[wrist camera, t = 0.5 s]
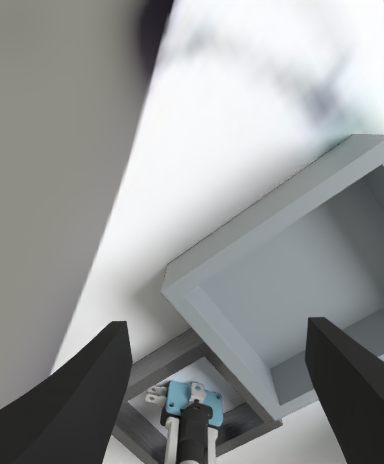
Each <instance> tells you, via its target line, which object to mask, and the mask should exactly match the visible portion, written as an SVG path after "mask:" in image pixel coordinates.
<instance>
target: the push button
mask: <svg viewBox="0 0 384 464" xmlns="http://www.w3.org/2000/svg"><path fill="white" fill-rule="evenodd" d="M196 386H198V387H199V388H197V387H196ZM152 388H155V389H156V390H155V391H152V390H151V389H152ZM147 392H150V393H154V394H157V395H158V396H156V395H152V394H149V393H148V394H147V395H146V398H145V401H147V402H151V403H155V404H157V406H160V407H163V408H162V413H161V419H160V423H161V425H162V426H165V428H166V429H168V438H167V446H166V454H165V463H164V464H175V463H176V464H216V454H215V440H216V439H217V437H218V429H219V427H220V425H221V424H222V422H223V409H222V396H221V395H220V394H219V393H216V392H211V391H207V390H204V386H203V385H202V384H199V383H196V382H193V383H192V386H190V385H187V384H183V383H180V382H176V381H171V382H170V385H169V387H168V388H166V387H163V386H162V388H161V387H158V386H152V387H150V388H149V389H147ZM150 397H153V398H154V400H150ZM176 455H177V462H176Z"/></svg>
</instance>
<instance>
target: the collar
mask: <svg viewBox="0 0 384 464" xmlns="http://www.w3.org/2000/svg"><path fill="white" fill-rule="evenodd" d="M203 356H205V357H206V358H207V359H208V360H209V362H210V363H211V364H212V365H213V366H214V367H215V368H216V369H217V370H218V371H219V372H220V374H221V375H222V376H223V377H224V378H225V379H226V380H227V381H228V382H229V383H230V385H231V386H232V387H233V388H234V389H235V390H236V391H237V392H238V393H239V394H240V396H241V397H242V398H243V399H244V400H245V401H246V402H247V403H245V404H243V405H241V406H239V407H237V408H235V409H233V410H231V411H230V412H228V413H226V414H224V415H223V422H222V424H221V425H220V427H219V429H218V437H217V439H216V440H215V454H216V457H218V456H220V455H222V454H224V453H226V452H229V451H231V450H233V449H235V448H237V447H239V446H241V445H243V444H245V443H247V442H249V441H251V440H253V439H255V438H257V437H260V436H262V435H264V434H266V433H268V432H270V431H272V430H274V429H276V428H278V427H280V426H282V425H283V423H282V419H281V418H280V419H278V420H276V421H275V420H274V419H273V417H272V416H271V415H270V414H269V413H268V412H267V411H266V410H265V409H264V407H263V406H262V405H261V404H260V403H259V402H258V401H257V400H256V398H255V397H254V396H253V395H252V394H251V393H250V392H249V391H248V390H247V388H246V387H245V386H244V385H243V384H242V383H241V382H240V381H239V379H238V378H237V377H236V376H235V375H234V374H233V373H232V372H231V371H230V369H229V368H228V367H227V366H226V365H225V364H224V363H223V362H222V360H221V359H220V358H219V357H218V356H217V355H216V354H215V353H214V352H213V350H212V349H211V348H210V347H209V346H208V345H207V344H206V343H205V341H204V340H203V339H202V338H201V337H200V336H199V335H198V334H197V333H196V331H195V330H194V329H193V328H191V329H189V330H188V331H186V332H185V333H183V334H181V335H180V336H178V337H177V338H175V339H173V340H172V341H170V342H168V343H167V344H165V345H164V346H162V347H160V348H159V349H157V350H156V351H154V352H152V353H151V354H149V355H148V356H146V357H144V358H143V359H141V360H140V361H138V362H136V363H135V364H133V365H132V367H131V372H130V377H129V382H128V386H127V389H126V392H125V395H124V398H123V401H122V404H121V407H120V410H119V413H118V416H117V419H116V422H115V425H114V428H113V431H112V433H111V434H112V435H113V436H114V437H115V438H116V439H117V440H119V441H120V442H121V443H122V444H123V445H124V446H125V447H127V448H128V449H129V450H130V451H131V452H132V453H133V454H134V455H136V456H137V457H138V458H139V459H140V460H141V461H142V462H143V463H145V464H164V463H165V454H166V446H167V439H166V438H165V437H164V436H163V435H162V434H161V433H160V432H159V431H158V430H157V429H156V428H154V427H153V426H152V425H151V424H150V423H149V422H148V421H147V420H146V419H145V418H144V417H143V416H142V415H141V414H140V413H139V412H137V411H136V410H135V409H134V408H133V407H132V406H131V405H130V404H129V403H128V402H127V401H128V400H130V399H132V398H133V397H135V396H137V395H138V394H140V393H142V392H144V391H145V390H147V389H149V388H150V387H152V386H154V385H155V384H157V383H159V382H161V381H162V380H164V379H166V378H167V377H169V376H171V375H173V374H174V373H176V372H178V371H179V370H181V369H183V368H184V367H186V366H188V365H190V364H191V363H193V362H195V361H196V360H198V359H200V358H201V357H203ZM176 462H177V455H176ZM175 464H176V463H175Z"/></svg>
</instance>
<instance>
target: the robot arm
mask: <svg viewBox="0 0 384 464" xmlns="http://www.w3.org/2000/svg"><path fill="white" fill-rule="evenodd" d="M305 363H306V366H307V369H308V372H309V376H310V379H311V382H312V385H313V387H314V390H315V392H316V394H317V396H318V399H319V401H320V403H321V405H322V407H323V410H324V412H325V414H326V416H327V418H328V421H329V423H330V425H331V427H332V429H333V432H334V434H335V436H336V438H337V440H338V443H339V445H340V447H341V449H342V452H343V454H344V457H345V459H346V462H347V464H384V361H382V360H381V359H379V358H378V357H377V356H375V355H374V354H372V353H371V352H370V351H368V350H367V349H366V348H364V347H363V346H362V345H360V344H359V343H358V342H356V341H355V340H354V339H352V338H351V337H350V336H348V335H347V334H346V333H345V332H343V331H342V330H341V329H340V328H338V327H337V326H336V325H334V324H333V323H332V322H330V321H329V320H328V319H326V318H325V317H308V326H307V338H306V350H305ZM131 367H132V355H131V348H130V342H129V335H128V328H127V322H126V321H112V322H111V323H109V324H108V325H107V326H106V327H105V328H104V329H103V330H102V331H101V332H100V333H99V334H98V335H97V336H96V337H94V338H93V339H92V340H91V341H90V342H89V343H88V344H87V345H86V346H85V347H84V348H83V349H81V350H80V351H79V352H78V353H77V354H76V355H75V356H74V357H72V358H71V359H70V360H69V361H68V362H66V363H65V364H64V365H63V366H62V367H60V368H59V369H58V370H57V371H56V372H54V373H53V374H52V375H51V376H49V377H48V378H47V379H45V380H44V381H43V382H41V383H40V384H39V385H37V386H36V387H34V388H33V389H32V390H30V391H29V392H27V393H26V394H24V395H23V396H21V397H20V398H18V399H17V400H15V401H13V402H12V403H10V404H8V405H7V406H5V407H4V408H2V409H1V410H0V464H102V462H103V458H104V455H105V452H106V448H107V445H108V442H109V439H110V436H111V433H112V431H113V428H114V425H115V422H116V419H117V416H118V413H119V410H120V407H121V404H122V401H123V398H124V395H125V392H126V389H127V386H128V382H129V377H130V372H131Z"/></svg>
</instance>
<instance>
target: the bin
mask: <svg viewBox="0 0 384 464" xmlns="http://www.w3.org/2000/svg"><path fill="white" fill-rule="evenodd" d="M160 292H161V293H162V295H163V296H164V297H165V298H166V299H167V300H168V301H169V302H170V303H171V305H172V306H173V307H174V308H175V309H176V310H177V311H178V312H179V314H180V315H181V316H182V317H183V318H184V319H185V320H186V321H187V322H188V324H189V325H190V326H191V327H192V328H193V329H194V330H195V331H196V333H197V334H198V335H199V336H200V337H201V338H202V339H203V340H204V341H205V343H206V344H207V345H208V346H209V347H210V348H211V349H212V350H213V352H214V353H215V354H216V355H217V356H218V357H219V358H220V359H221V360H222V362H223V363H224V364H225V365H226V366H227V367H228V368H229V369H230V371H231V372H232V373H233V374H234V375H235V376H236V377H237V378H238V379H239V381H240V382H241V383H242V384H243V385H244V386H245V387H246V388H247V390H248V391H249V392H250V393H251V394H252V395H253V396H254V397H255V398H256V400H257V401H258V402H259V403H260V404H261V405H262V406H263V407H264V409H265V410H266V411H267V412H268V413H269V414H270V415H271V416H272V417H273V419H274V420H275V421H276V420H278V419H280V418H282V417H284V416H286V415H288V414H291V413H293V412H295V411H297V410H299V409H301V408H303V407H305V406H307V405H309V404H311V403H313V402H315V401H317V400H319V399H318V396H317V394H316V392H315V390H314V387H313V385H312V382H311V379H310V376H309V372H308V369H307V366H306V363H305V350H306V338H307V326H308V317H325V318H326V319H328V320H329V321H330V322H332V323H333V324H334V325H336V326H337V327H338V328H340V329H341V330H342V331H343V332H345V333H346V334H347V335H348V336H350V337H351V338H352V339H354V340H355V341H356V342H358V343H359V344H360V345H362V346H363V347H364V348H366V349H367V350H368V351H370V352H371V353H372V354H374V355H375V356H377V357H378V358H379V359H381V360H382V361H384V135H372V134H353V135H352V136H350V137H349V138H347V139H346V140H344V141H343V142H342V143H340V144H339V145H337V146H336V147H334V148H333V149H332V150H330V151H329V152H327V153H326V154H324V155H323V156H322V157H320V158H319V159H317V160H316V161H314V162H313V163H312V164H310V165H309V166H307V167H306V168H304V169H303V170H302V171H300V172H299V173H297V174H296V175H294V176H293V177H292V178H290V179H289V180H287V181H286V182H284V183H283V184H282V185H280V186H279V187H277V188H276V189H274V190H273V191H272V192H270V193H269V194H267V195H266V196H264V197H263V198H262V199H260V200H259V201H257V202H256V203H254V204H253V205H252V206H250V207H249V208H247V209H246V210H244V211H243V212H242V213H240V214H239V215H237V216H236V217H234V218H233V219H232V220H230V221H229V222H227V223H226V224H224V225H223V226H222V227H220V228H219V229H217V230H216V231H214V232H213V233H212V234H210V235H209V236H207V237H206V238H204V239H203V240H202V241H200V242H199V243H197V244H196V245H194V246H193V247H192V248H190V249H189V250H187V251H186V252H184V253H183V254H182V255H180V256H179V257H177V258H176V259H174V260H173V261H172V262H170V263H169V264H168V266H167V269H166V273H165V277H164V280H163V284H162V288H161V291H160Z"/></svg>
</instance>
